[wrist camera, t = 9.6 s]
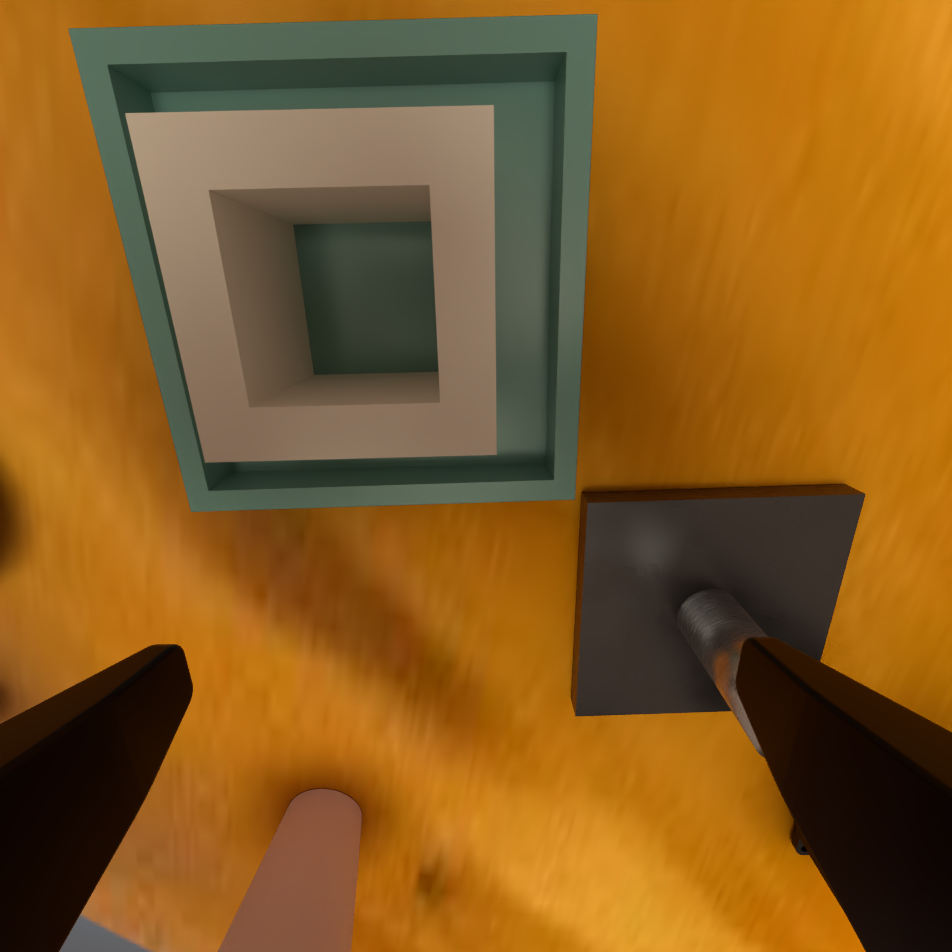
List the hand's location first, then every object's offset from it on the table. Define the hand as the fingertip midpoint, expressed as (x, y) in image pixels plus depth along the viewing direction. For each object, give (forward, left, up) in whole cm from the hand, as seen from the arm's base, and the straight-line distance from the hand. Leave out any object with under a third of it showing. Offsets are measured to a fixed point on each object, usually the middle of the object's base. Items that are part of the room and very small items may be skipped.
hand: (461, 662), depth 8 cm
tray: (+3, -5, -11) cm, 12 cm away
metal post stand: (-9, +7, -11) cm, 16 cm away
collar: (+3, -5, -10) cm, 12 cm away
